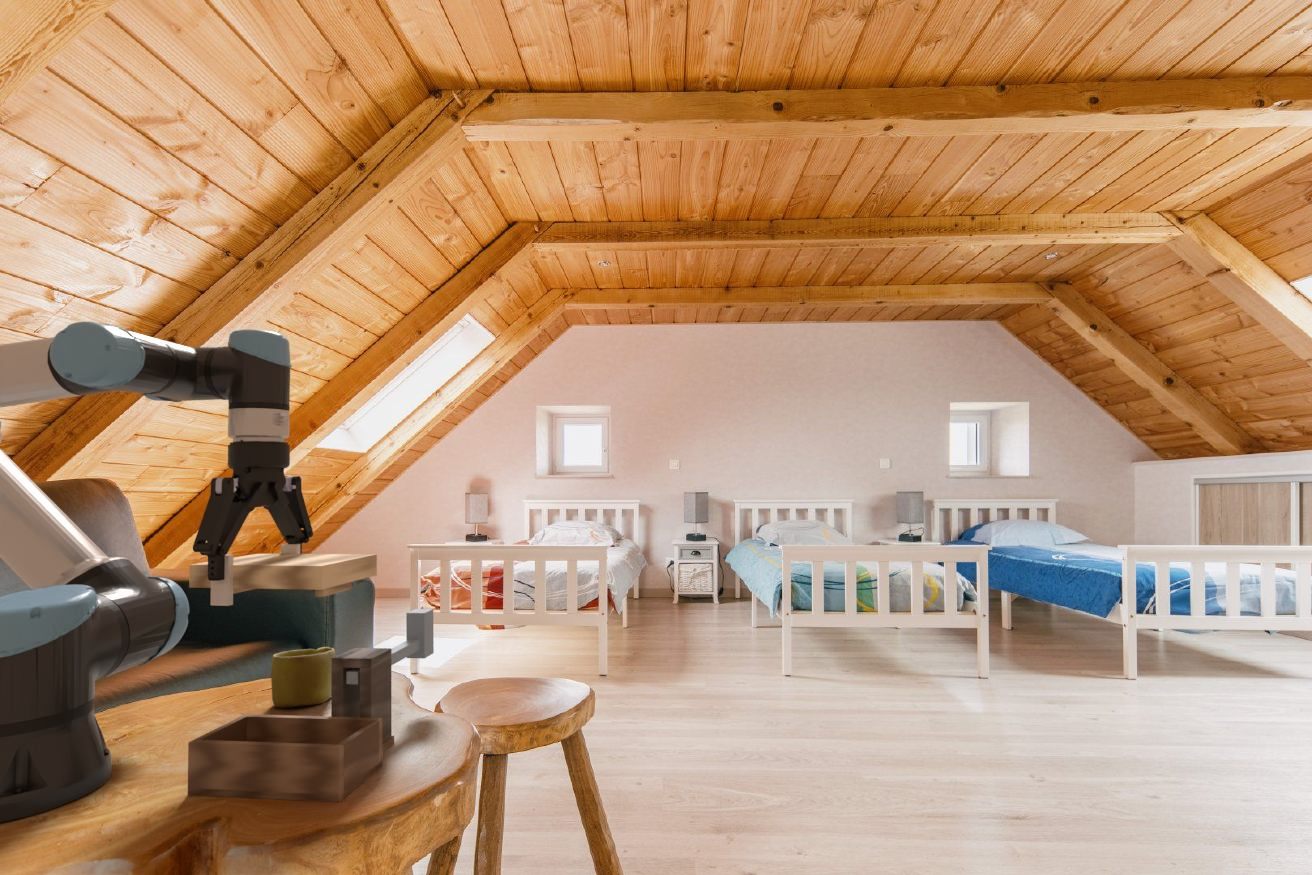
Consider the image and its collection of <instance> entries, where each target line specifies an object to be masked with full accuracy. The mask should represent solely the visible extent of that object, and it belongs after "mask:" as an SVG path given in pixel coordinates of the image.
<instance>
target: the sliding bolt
mask: <svg viewBox="0 0 1312 875" xmlns="http://www.w3.org/2000/svg"><path fill="white" fill-rule="evenodd" d="M405 620H406V623H405V624H406V641H404V642H402V643H400V644H398V645H395V646H394V647H392V648H391V667H392V666H394V665H395V664H396V663H399V662H401V661H402V660H404V659H405V658H406V659H426V658H428V657H429V656H431V655H433V654H434V608H415V609H412V610H410V611H408V612H406V619H405ZM359 683H360V668H353V669H351V670H349V671H347V672H346V684H359Z"/></svg>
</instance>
